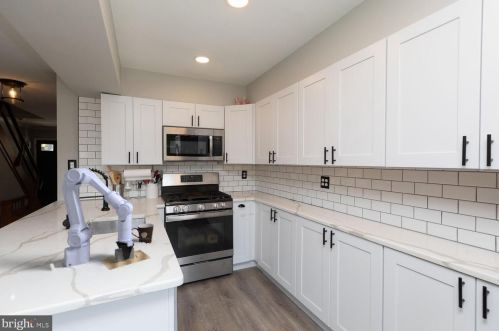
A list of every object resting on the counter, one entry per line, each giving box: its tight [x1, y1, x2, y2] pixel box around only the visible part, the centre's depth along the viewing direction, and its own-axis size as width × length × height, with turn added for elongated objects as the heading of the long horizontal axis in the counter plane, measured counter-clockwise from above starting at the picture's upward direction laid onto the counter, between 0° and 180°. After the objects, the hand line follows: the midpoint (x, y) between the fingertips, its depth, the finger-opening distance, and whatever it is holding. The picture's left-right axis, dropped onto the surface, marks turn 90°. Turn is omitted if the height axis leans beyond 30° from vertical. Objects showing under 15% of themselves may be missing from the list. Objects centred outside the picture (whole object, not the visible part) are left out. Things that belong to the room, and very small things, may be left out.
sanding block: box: [114, 247, 135, 263], centre depth 111 cm, size 7×4×5 cm, turn 135°
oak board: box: [100, 249, 152, 271], centre depth 111 cm, size 18×14×1 cm
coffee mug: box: [132, 223, 155, 245], centre depth 137 cm, size 12×9×10 cm
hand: (124, 257), depth 111 cm, fingers closed on sanding block, 4 cm apart
